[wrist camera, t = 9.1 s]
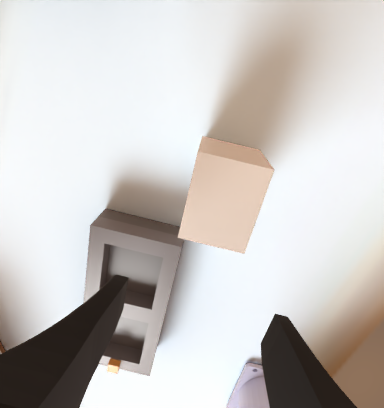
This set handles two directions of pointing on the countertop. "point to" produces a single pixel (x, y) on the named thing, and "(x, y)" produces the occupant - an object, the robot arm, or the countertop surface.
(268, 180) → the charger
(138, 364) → the grey rectangular hollow block
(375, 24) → the countertop surface
